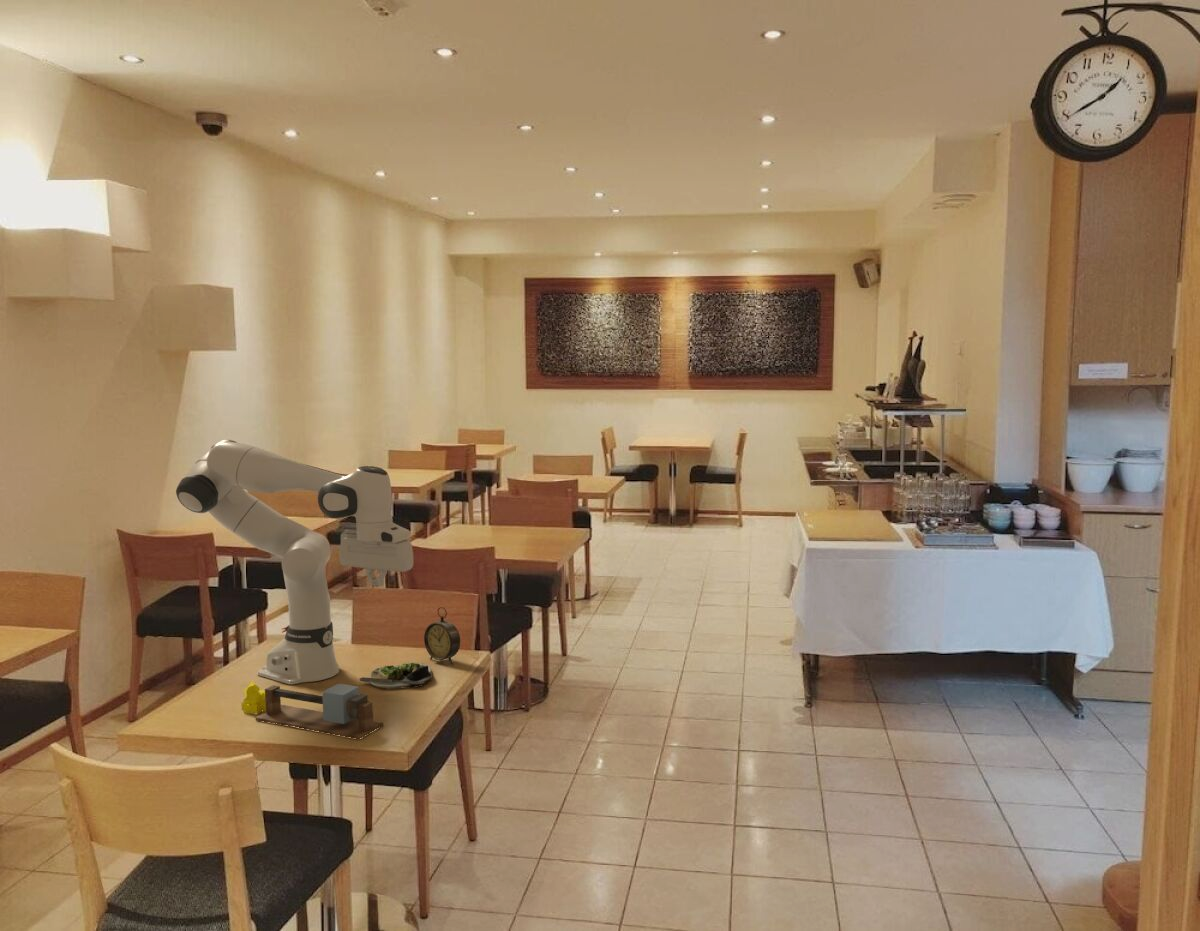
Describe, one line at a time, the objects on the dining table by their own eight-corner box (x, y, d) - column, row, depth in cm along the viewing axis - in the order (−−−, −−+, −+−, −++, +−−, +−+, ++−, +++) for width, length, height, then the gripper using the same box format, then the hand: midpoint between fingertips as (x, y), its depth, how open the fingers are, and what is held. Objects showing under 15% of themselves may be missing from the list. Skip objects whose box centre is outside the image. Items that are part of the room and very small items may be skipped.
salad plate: (359, 696, 245) (358, 679, 245) (359, 673, 262) (359, 657, 262) (434, 689, 250) (433, 672, 249) (429, 667, 267) (429, 651, 267)
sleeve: (323, 720, 222) (322, 691, 221) (339, 711, 228) (338, 683, 227) (344, 723, 220) (342, 695, 219) (360, 714, 225) (358, 686, 224)
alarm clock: (423, 660, 272) (421, 606, 270) (436, 655, 276) (435, 602, 274) (451, 667, 266) (449, 612, 264) (464, 662, 270) (462, 607, 268)
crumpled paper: (264, 715, 232) (262, 685, 231) (236, 712, 234) (234, 682, 233) (278, 706, 238) (276, 677, 237) (250, 704, 240) (249, 674, 239)
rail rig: (255, 720, 229) (254, 688, 228) (281, 707, 237) (280, 676, 236) (359, 740, 216) (358, 706, 215) (383, 725, 225) (381, 693, 224)
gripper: (332, 530, 234) (335, 584, 235) (401, 536, 226) (403, 592, 227) (348, 526, 239) (350, 579, 241) (416, 531, 232) (417, 586, 233)
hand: (376, 585), depth 234 cm, fingers closed
